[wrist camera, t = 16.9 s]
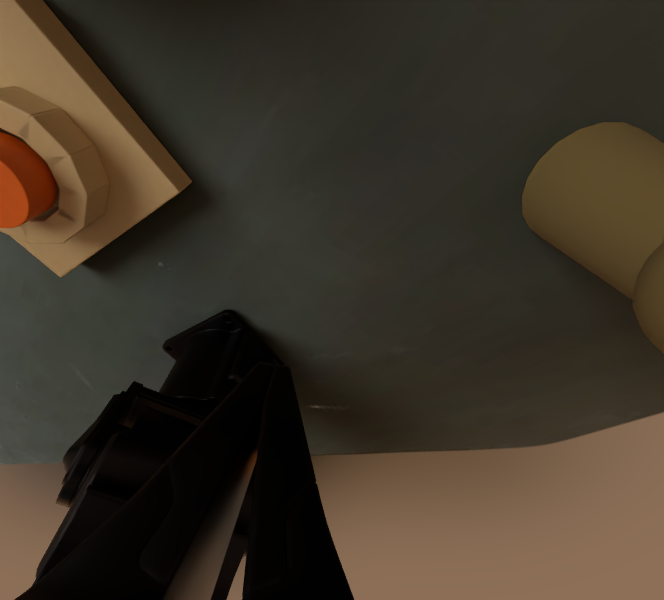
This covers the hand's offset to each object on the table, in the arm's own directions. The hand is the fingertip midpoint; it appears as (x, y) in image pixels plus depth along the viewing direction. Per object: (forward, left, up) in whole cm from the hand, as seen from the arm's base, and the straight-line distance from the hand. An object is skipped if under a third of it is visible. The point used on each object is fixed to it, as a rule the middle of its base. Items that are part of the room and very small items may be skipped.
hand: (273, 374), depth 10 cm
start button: (-10, +9, -9) cm, 16 cm away
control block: (-10, +9, -12) cm, 18 cm away
